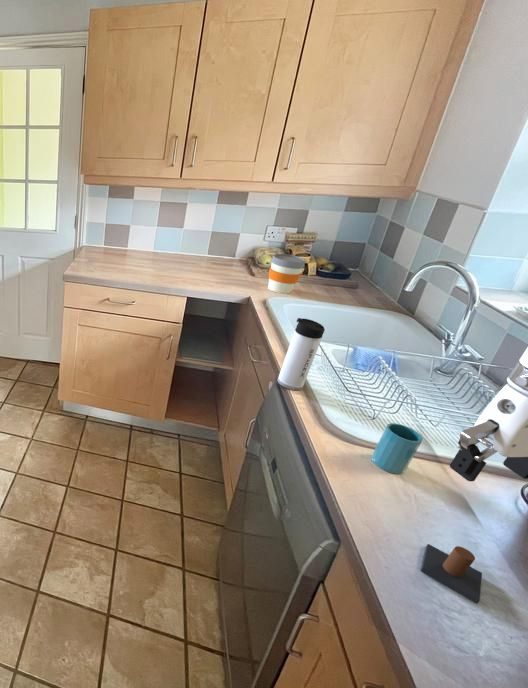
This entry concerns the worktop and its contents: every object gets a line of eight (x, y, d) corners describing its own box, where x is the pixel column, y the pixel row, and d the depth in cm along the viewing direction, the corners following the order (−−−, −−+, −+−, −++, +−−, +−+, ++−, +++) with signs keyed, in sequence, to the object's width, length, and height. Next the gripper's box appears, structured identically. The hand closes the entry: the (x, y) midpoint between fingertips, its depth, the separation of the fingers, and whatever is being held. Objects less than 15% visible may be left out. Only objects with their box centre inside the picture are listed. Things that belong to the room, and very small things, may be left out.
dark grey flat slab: (425, 546, 74) (439, 526, 72) (479, 575, 69) (495, 555, 67) (420, 571, 70) (434, 550, 67) (477, 604, 65) (494, 583, 63)
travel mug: (277, 375, 123) (298, 314, 114) (303, 383, 119) (326, 321, 111) (274, 384, 118) (296, 322, 110) (301, 393, 115) (326, 330, 106)
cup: (399, 459, 93) (416, 428, 89) (408, 478, 88) (427, 445, 84) (367, 451, 95) (383, 420, 91) (375, 468, 90) (392, 436, 87)
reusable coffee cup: (269, 282, 195) (279, 251, 188) (299, 290, 186) (310, 259, 180) (258, 288, 187) (268, 256, 181) (289, 297, 178) (300, 264, 172)
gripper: (529, 401, 54) (465, 495, 61) (641, 398, 56) (565, 490, 63) (467, 369, 61) (416, 457, 68) (568, 367, 62) (508, 453, 70)
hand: (488, 472), depth 65 cm, fingers open, 9 cm apart
